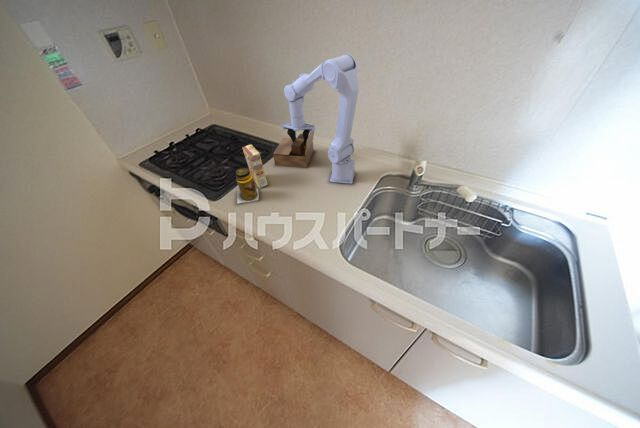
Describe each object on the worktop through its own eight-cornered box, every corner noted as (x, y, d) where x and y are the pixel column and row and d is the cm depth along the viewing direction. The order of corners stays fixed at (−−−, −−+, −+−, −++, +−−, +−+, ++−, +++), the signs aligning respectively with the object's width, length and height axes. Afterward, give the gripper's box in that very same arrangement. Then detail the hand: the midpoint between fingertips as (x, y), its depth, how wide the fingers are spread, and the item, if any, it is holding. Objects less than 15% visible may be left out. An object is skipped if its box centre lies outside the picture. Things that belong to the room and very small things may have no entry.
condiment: (259, 200, 94) (251, 175, 85) (237, 204, 93) (227, 179, 84) (258, 189, 99) (251, 164, 90) (237, 192, 98) (228, 168, 89)
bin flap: (312, 139, 114) (313, 139, 114) (304, 156, 104) (305, 156, 104) (314, 125, 109) (314, 125, 109) (306, 141, 99) (307, 141, 99)
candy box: (268, 184, 100) (260, 152, 90) (259, 188, 99) (249, 156, 88) (260, 175, 106) (251, 143, 95) (251, 178, 104) (241, 146, 94)
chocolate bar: (309, 142, 113) (308, 134, 110) (300, 154, 106) (299, 146, 103) (300, 141, 114) (300, 133, 111) (292, 153, 107) (290, 145, 104)
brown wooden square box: (313, 151, 119) (312, 139, 114) (306, 168, 108) (305, 156, 104) (285, 149, 121) (283, 137, 117) (275, 165, 111) (272, 153, 107)
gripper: (277, 118, 98) (282, 147, 108) (311, 120, 95) (313, 150, 105) (283, 111, 103) (287, 140, 112) (315, 113, 100) (317, 142, 110)
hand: (300, 144), depth 109 cm, fingers closed on chocolate bar, 4 cm apart
